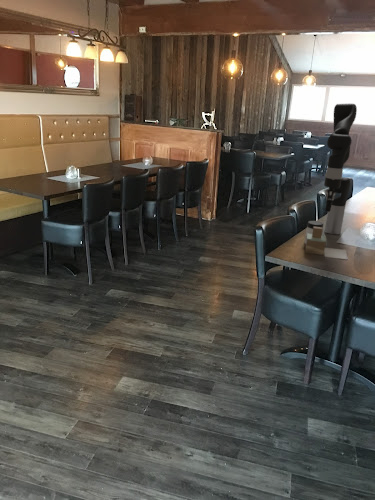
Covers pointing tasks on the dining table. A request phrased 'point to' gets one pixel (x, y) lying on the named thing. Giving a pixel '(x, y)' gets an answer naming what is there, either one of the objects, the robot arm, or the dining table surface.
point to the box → (315, 247)
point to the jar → (310, 227)
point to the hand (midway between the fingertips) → (328, 209)
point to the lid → (316, 235)
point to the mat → (335, 253)
